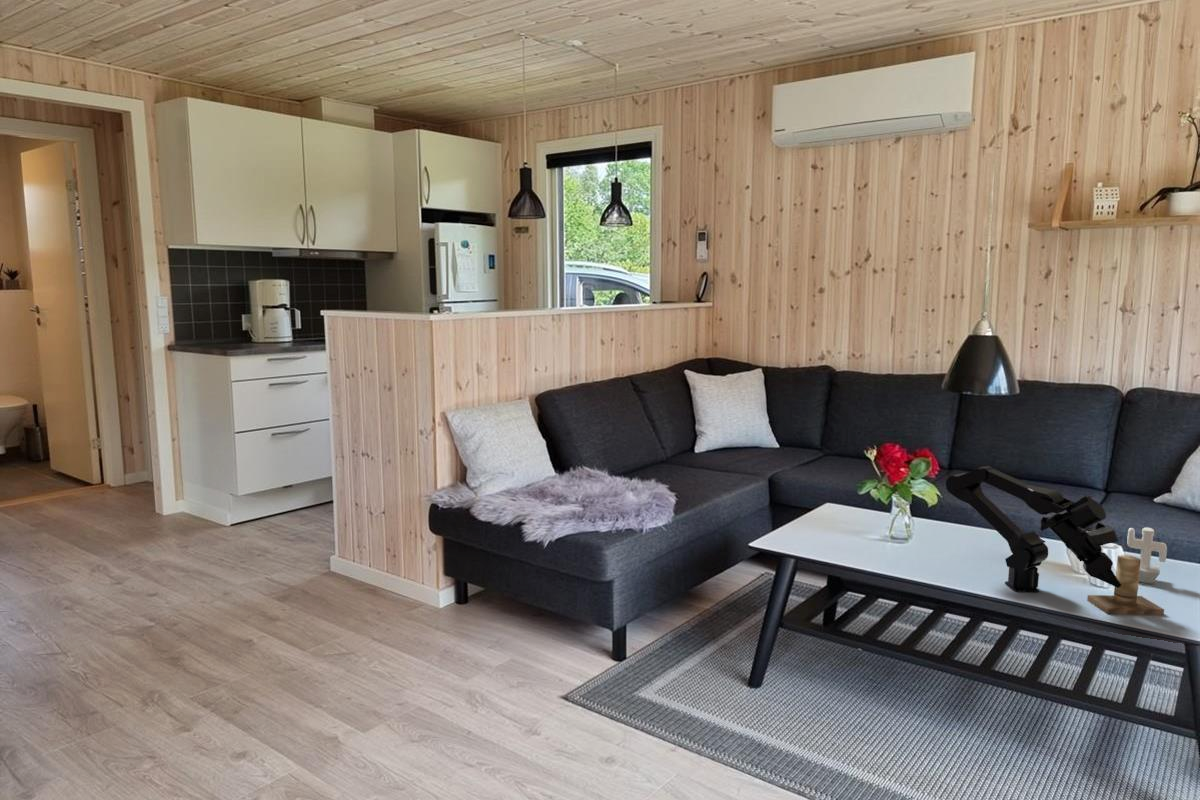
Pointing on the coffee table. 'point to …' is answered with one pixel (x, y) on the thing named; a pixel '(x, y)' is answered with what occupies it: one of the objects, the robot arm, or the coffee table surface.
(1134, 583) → the oak peg
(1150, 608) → the walnut board
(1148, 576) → the figurine
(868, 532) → the coffee table surface
